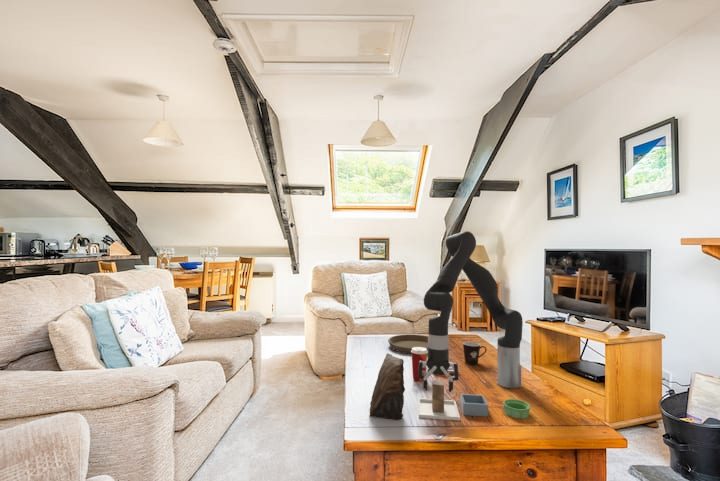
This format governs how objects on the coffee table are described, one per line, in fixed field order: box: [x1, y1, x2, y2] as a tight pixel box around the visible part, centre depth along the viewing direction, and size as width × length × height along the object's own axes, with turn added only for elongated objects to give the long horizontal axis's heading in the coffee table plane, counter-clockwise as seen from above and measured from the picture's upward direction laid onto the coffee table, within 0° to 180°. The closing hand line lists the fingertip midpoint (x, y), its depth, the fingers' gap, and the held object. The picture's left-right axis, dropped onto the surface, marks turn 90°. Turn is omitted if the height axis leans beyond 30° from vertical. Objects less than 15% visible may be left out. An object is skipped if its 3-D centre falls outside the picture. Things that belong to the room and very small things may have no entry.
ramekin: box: [503, 398, 531, 419], centre depth 133 cm, size 9×9×4 cm
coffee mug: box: [462, 341, 487, 366], centre depth 192 cm, size 12×9×10 cm
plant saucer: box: [388, 334, 428, 355], centre depth 221 cm, size 31×31×5 cm
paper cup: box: [411, 347, 428, 383], centre depth 168 cm, size 8×8×14 cm
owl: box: [369, 353, 406, 421], centre depth 134 cm, size 13×13×20 cm
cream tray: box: [417, 397, 461, 421], centre depth 134 cm, size 14×14×2 cm
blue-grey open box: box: [459, 393, 489, 417], centre depth 135 cm, size 9×9×5 cm
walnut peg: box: [431, 379, 445, 413], centre depth 135 cm, size 4×4×10 cm
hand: (437, 390), depth 135 cm, fingers open, 8 cm apart
